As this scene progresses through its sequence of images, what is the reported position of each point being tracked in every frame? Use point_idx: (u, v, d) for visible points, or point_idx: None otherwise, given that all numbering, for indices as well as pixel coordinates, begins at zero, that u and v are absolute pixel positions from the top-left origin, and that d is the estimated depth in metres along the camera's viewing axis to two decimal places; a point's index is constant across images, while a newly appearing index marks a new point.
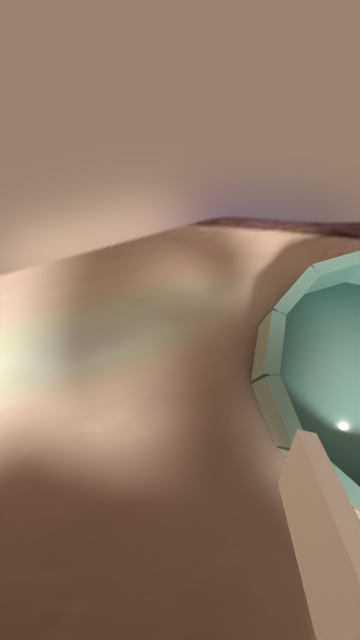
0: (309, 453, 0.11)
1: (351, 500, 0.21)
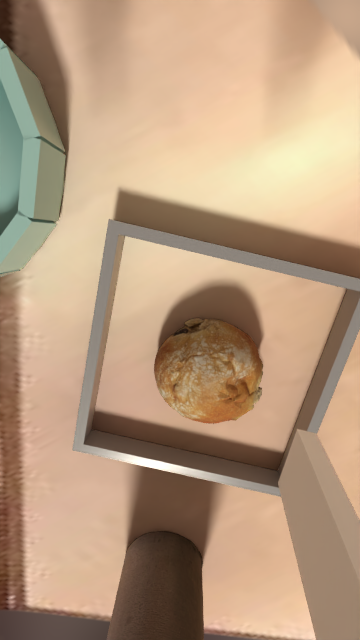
0: (309, 453, 0.11)
1: None
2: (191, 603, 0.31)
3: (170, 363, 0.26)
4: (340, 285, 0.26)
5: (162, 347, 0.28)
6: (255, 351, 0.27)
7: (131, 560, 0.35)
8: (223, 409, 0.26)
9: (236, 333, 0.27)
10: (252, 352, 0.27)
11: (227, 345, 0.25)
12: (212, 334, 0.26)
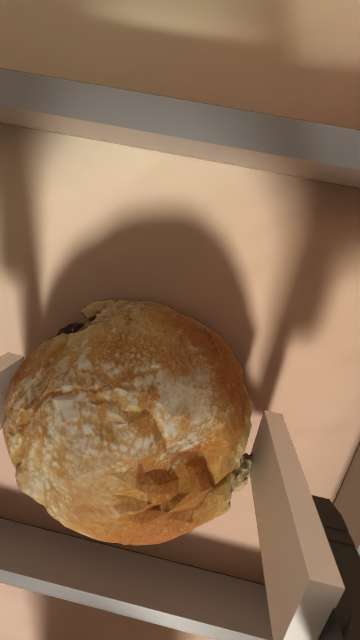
0: (272, 430, 0.11)
1: None
2: None
3: (10, 410, 0.10)
4: None
5: (20, 366, 0.12)
6: (229, 377, 0.11)
7: None
8: (139, 533, 0.10)
9: (178, 331, 0.10)
10: (218, 381, 0.10)
11: (142, 365, 0.09)
12: (112, 336, 0.10)
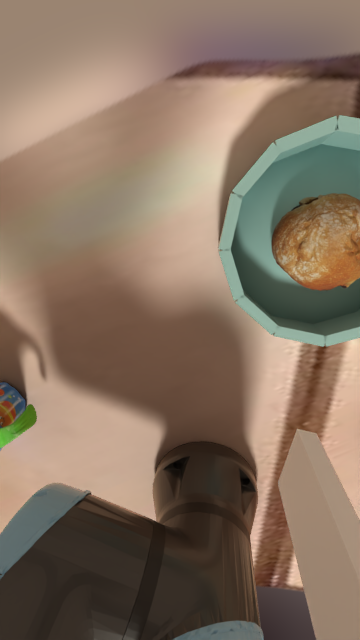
0: (309, 452, 0.11)
1: (267, 329, 0.33)
2: None
3: (296, 225, 0.30)
4: None
5: (282, 219, 0.32)
6: None
7: None
8: (346, 262, 0.29)
9: (355, 198, 0.30)
10: None
11: (350, 204, 0.29)
12: (334, 198, 0.29)
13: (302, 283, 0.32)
